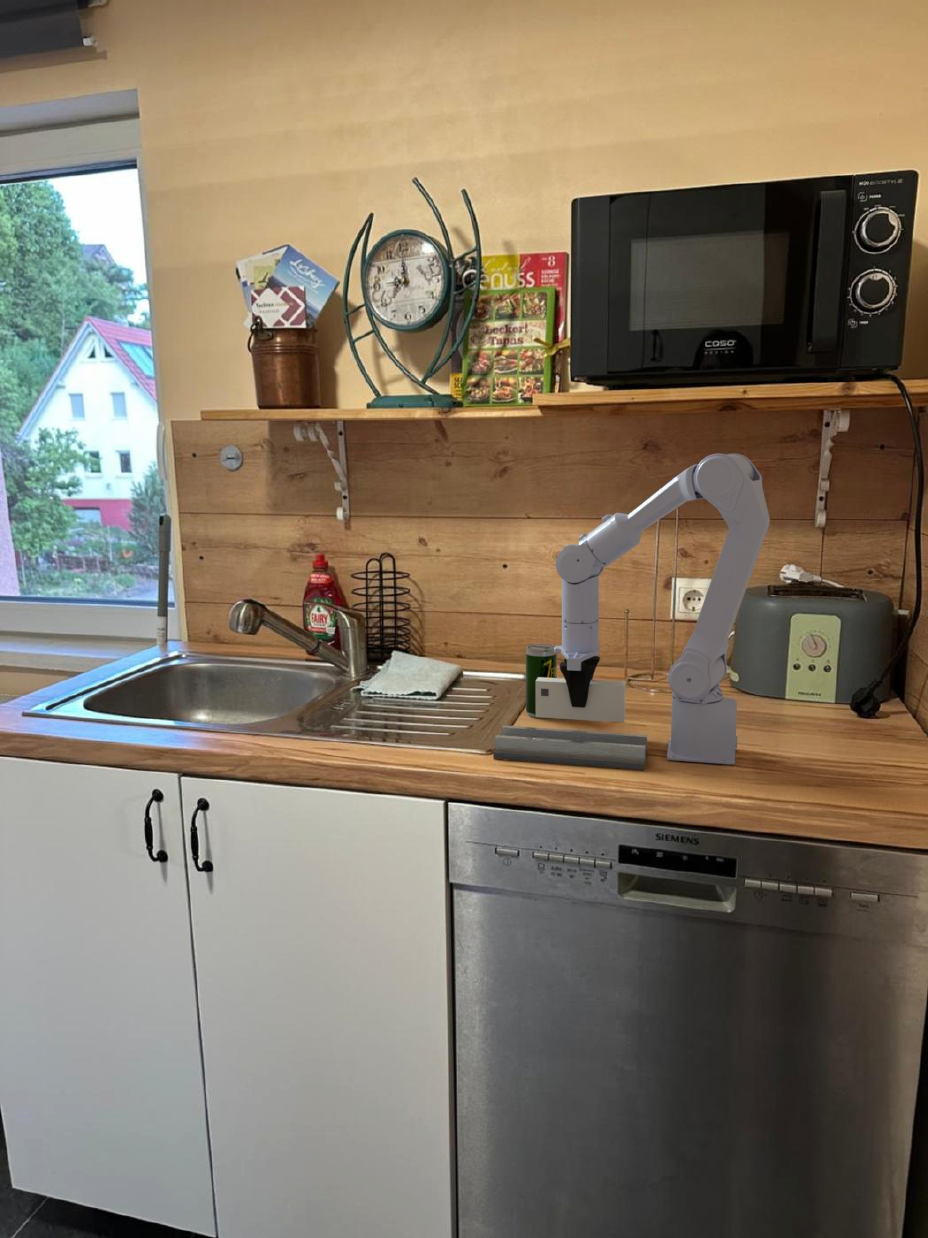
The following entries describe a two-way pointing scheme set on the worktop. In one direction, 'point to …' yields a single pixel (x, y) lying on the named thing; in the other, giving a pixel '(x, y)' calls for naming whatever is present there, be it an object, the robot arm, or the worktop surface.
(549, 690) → the door panel
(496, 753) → the track
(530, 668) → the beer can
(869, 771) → the worktop surface
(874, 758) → the worktop surface
